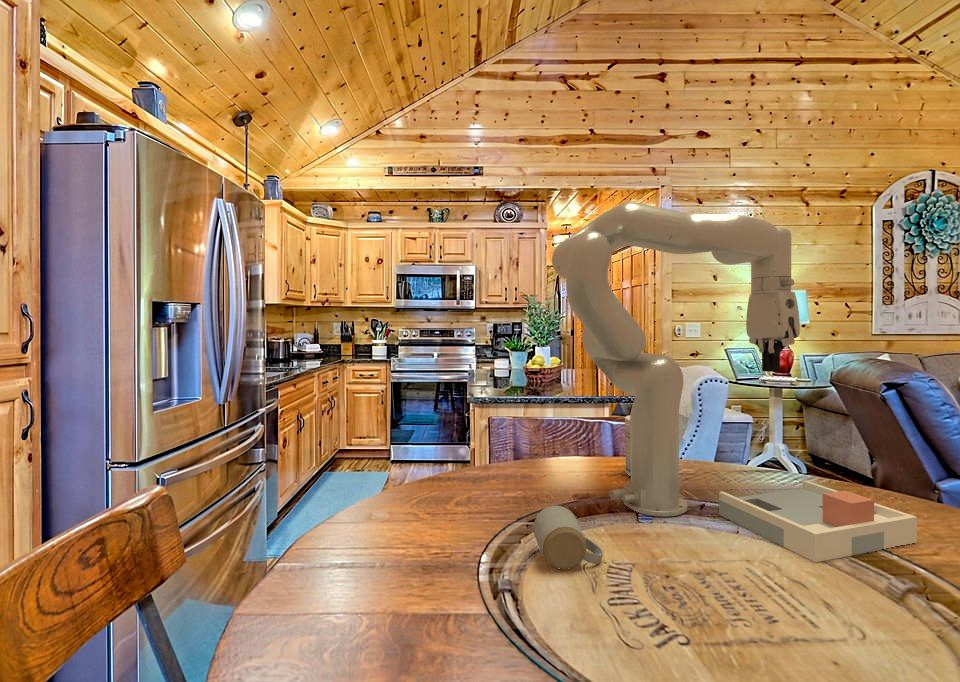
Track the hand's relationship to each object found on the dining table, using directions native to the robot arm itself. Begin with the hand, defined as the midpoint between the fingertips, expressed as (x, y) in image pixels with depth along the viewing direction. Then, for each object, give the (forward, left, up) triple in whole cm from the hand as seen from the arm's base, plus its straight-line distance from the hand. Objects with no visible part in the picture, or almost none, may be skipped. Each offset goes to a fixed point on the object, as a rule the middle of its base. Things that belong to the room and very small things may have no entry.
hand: (770, 371), depth 107 cm
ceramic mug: (-55, -14, -27) cm, 63 cm away
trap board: (-8, -16, -27) cm, 33 cm away
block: (-8, -23, -24) cm, 34 cm away
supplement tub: (-18, +20, -27) cm, 38 cm away
